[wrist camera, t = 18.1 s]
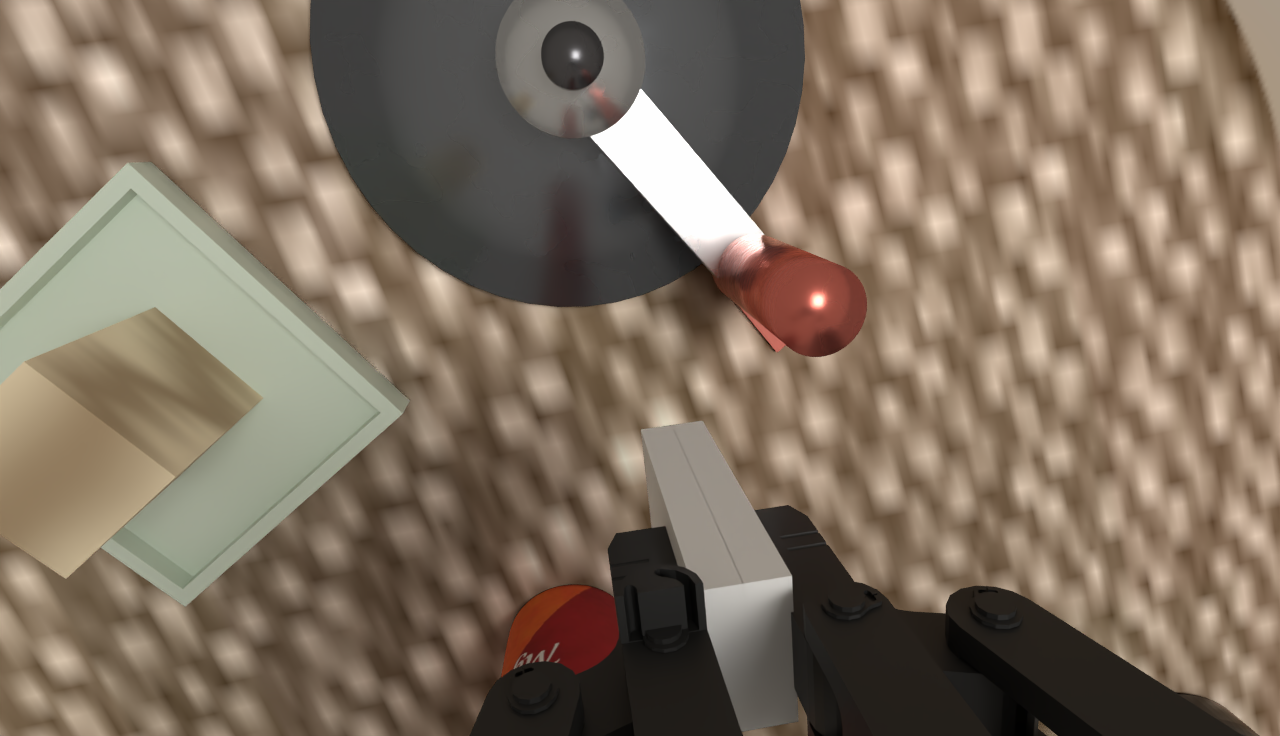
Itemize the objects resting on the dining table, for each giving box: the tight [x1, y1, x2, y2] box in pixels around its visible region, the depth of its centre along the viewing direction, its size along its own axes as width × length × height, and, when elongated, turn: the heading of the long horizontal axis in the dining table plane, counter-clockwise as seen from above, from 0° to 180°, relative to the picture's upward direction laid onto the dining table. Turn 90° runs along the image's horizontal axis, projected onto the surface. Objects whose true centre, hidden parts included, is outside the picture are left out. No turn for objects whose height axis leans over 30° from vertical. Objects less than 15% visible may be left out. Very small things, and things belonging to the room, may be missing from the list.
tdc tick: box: [741, 308, 785, 352], centre depth 30 cm, size 4×1×1 cm, turn 40°
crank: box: [495, 0, 867, 357], centre depth 23 cm, size 14×5×9 cm, turn 43°
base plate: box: [310, 0, 805, 307], centre depth 24 cm, size 18×18×4 cm
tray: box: [0, 162, 410, 606], centre depth 27 cm, size 13×13×2 cm
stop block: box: [0, 307, 263, 579], centre depth 24 cm, size 5×5×7 cm
